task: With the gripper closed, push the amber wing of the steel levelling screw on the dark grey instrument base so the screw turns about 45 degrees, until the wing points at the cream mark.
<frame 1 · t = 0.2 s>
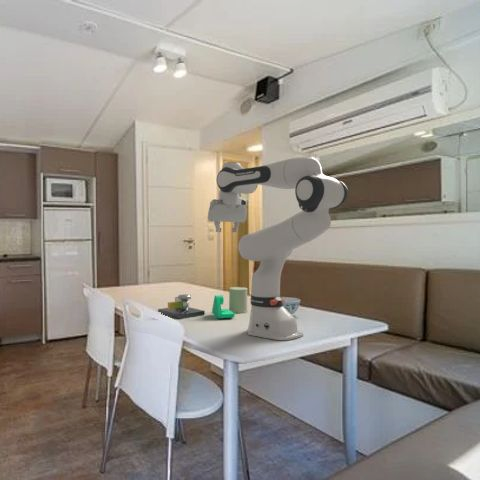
hand: (226, 232, 180), 39 cm above the table, tool pointing down, fingers open, 8 cm apart
camera mount: (223, 317, 191), on the table
can: (238, 312, 204), on the table
chinaware: (284, 316, 194), on the table
instrument base: (181, 314, 196), on the table
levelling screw: (179, 303, 192), point 6 cm above the table, hinge at 0.0°
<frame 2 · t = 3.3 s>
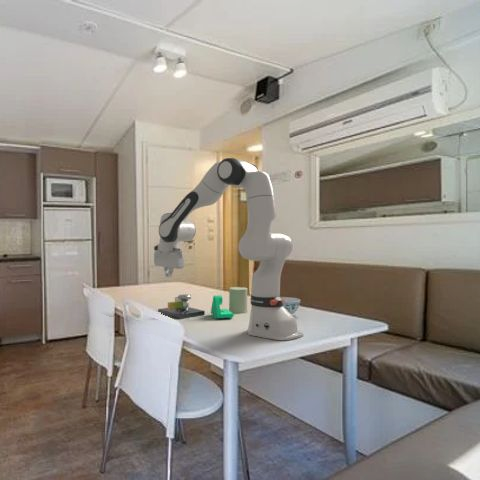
hand: (168, 276, 195), 18 cm above the table, tool pointing down, fingers closed
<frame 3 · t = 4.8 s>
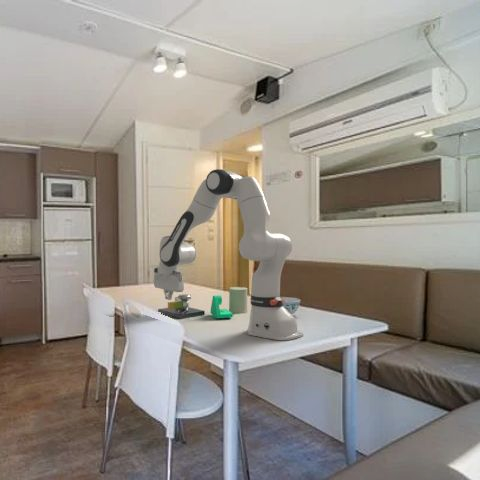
hand: (168, 299, 195), 7 cm above the table, tool pointing down, fingers closed
nothing on the table moved.
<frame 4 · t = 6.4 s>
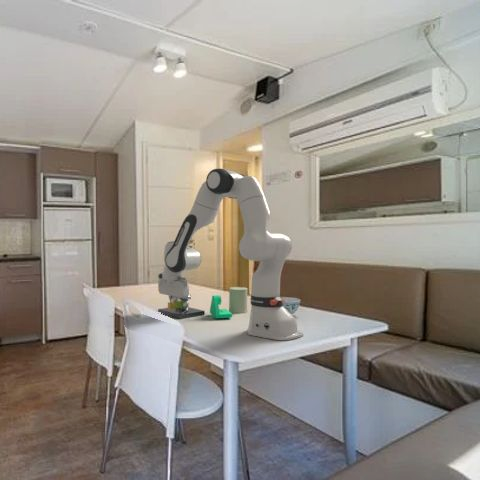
hand: (173, 305, 192), 5 cm above the table, tool pointing down, fingers closed
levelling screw: (179, 303, 192), point 6 cm above the table, hinge at 0.1°, touching gripper
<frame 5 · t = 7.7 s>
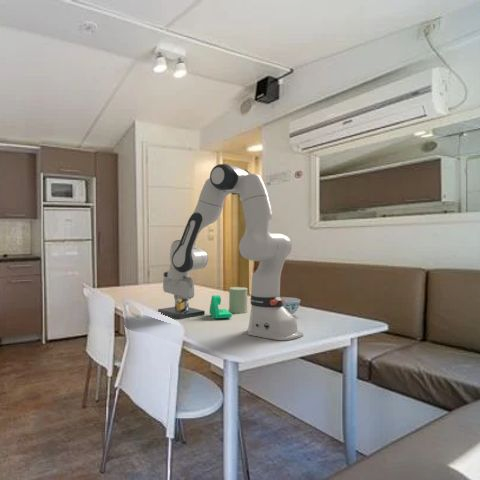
hand: (177, 304, 190), 6 cm above the table, tool pointing down, fingers closed, pressing on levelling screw
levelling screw: (182, 303, 191), point 6 cm above the table, hinge at 35.1°, touching gripper
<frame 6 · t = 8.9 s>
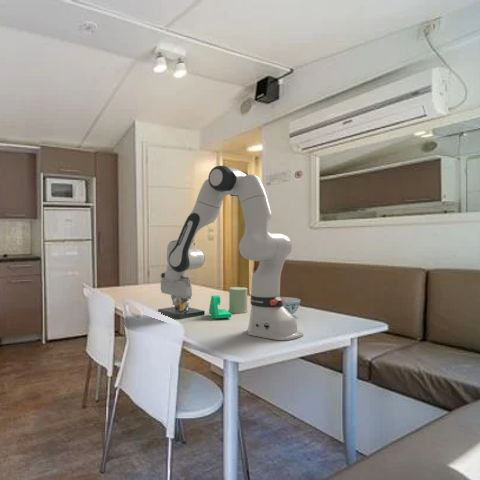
hand: (175, 305, 190), 5 cm above the table, tool pointing down, fingers closed
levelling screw: (183, 303, 191), point 6 cm above the table, hinge at 44.4°
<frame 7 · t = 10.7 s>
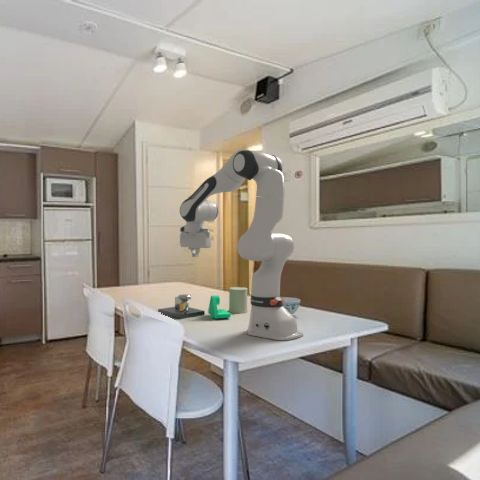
hand: (195, 257, 200), 27 cm above the table, tool pointing down, fingers closed
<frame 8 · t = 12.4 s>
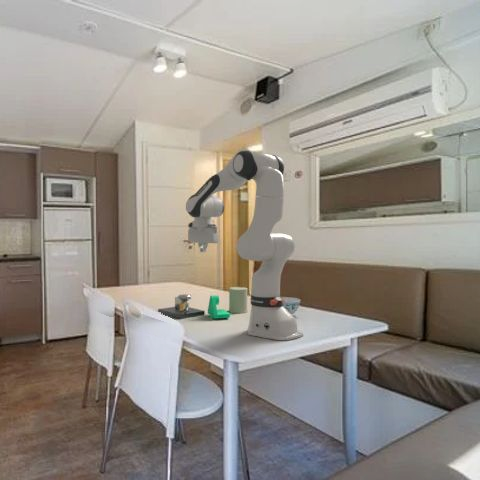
hand: (203, 252, 205), 29 cm above the table, tool pointing down, fingers closed
at the end: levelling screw at +44° (first picture: +0°); the gripper is holding nothing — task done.
